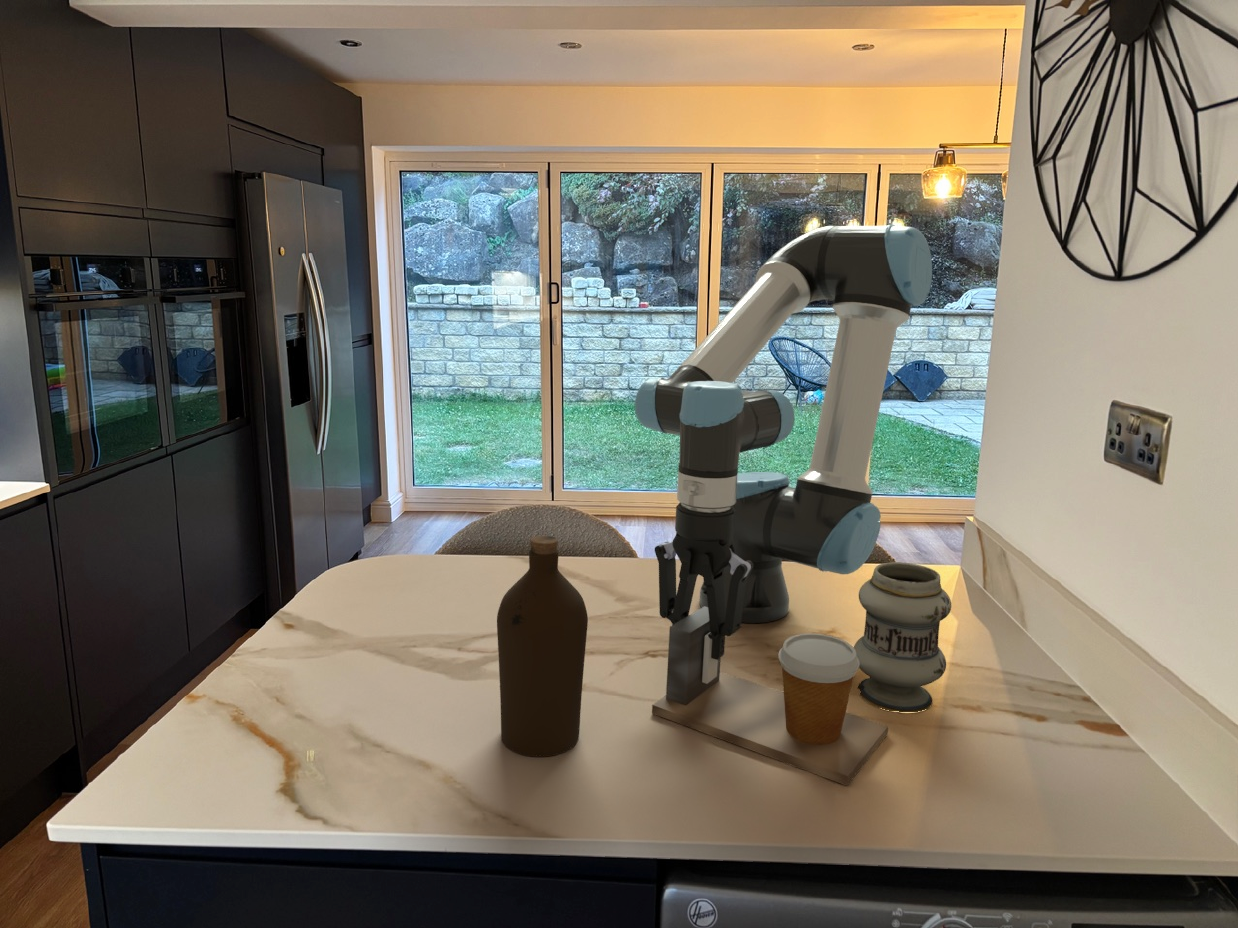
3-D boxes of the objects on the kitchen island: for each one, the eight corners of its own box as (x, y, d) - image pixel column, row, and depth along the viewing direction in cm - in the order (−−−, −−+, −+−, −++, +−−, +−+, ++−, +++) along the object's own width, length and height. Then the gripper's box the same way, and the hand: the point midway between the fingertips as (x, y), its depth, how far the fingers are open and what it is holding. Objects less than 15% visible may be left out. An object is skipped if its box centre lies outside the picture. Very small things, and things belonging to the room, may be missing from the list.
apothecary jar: (840, 673, 125) (852, 554, 122) (924, 677, 125) (939, 558, 121) (860, 715, 114) (874, 585, 110) (953, 720, 113) (971, 589, 109)
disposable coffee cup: (849, 767, 102) (857, 673, 99) (767, 751, 104) (773, 659, 101) (855, 725, 110) (863, 638, 107) (779, 712, 113) (785, 626, 110)
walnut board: (651, 713, 112) (655, 631, 110) (705, 674, 123) (710, 599, 121) (847, 785, 98) (856, 693, 95) (887, 734, 109) (897, 651, 107)
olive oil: (581, 762, 101) (588, 555, 95) (489, 758, 101) (490, 552, 95) (586, 716, 111) (592, 527, 105) (502, 712, 111) (504, 524, 105)
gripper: (635, 499, 112) (629, 667, 117) (752, 523, 103) (739, 704, 108) (665, 488, 118) (658, 648, 123) (778, 509, 109) (764, 681, 115)
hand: (696, 674), depth 116 cm, fingers open, 3 cm apart
